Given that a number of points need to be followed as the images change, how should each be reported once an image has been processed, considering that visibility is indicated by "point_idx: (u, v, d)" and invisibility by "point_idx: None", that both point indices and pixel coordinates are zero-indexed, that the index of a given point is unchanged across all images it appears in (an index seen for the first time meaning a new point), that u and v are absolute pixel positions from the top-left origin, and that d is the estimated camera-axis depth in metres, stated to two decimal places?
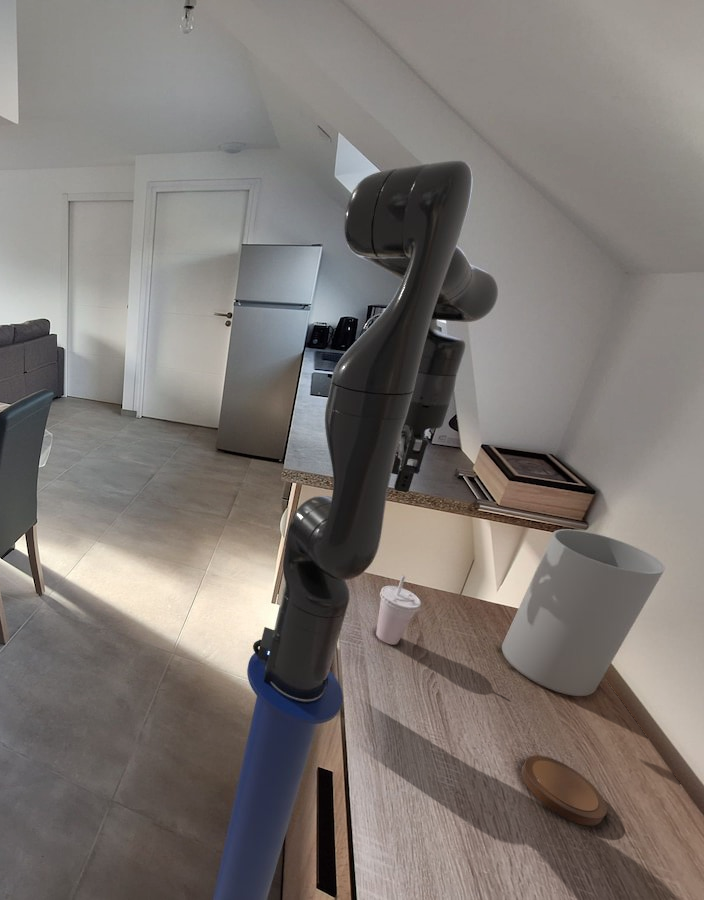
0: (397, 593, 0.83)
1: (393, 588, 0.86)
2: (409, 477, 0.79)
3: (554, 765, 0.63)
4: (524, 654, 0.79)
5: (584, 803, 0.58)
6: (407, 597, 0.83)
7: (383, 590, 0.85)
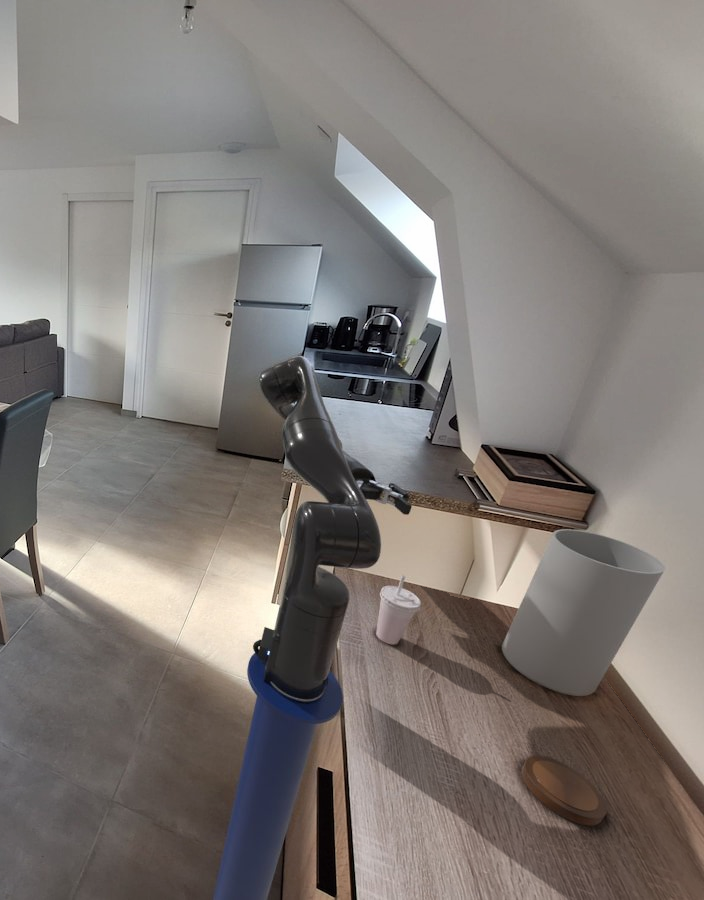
0: (397, 593, 0.83)
1: (393, 588, 0.86)
2: None
3: (554, 765, 0.63)
4: (524, 654, 0.79)
5: (584, 803, 0.58)
6: (407, 597, 0.83)
7: (383, 590, 0.85)
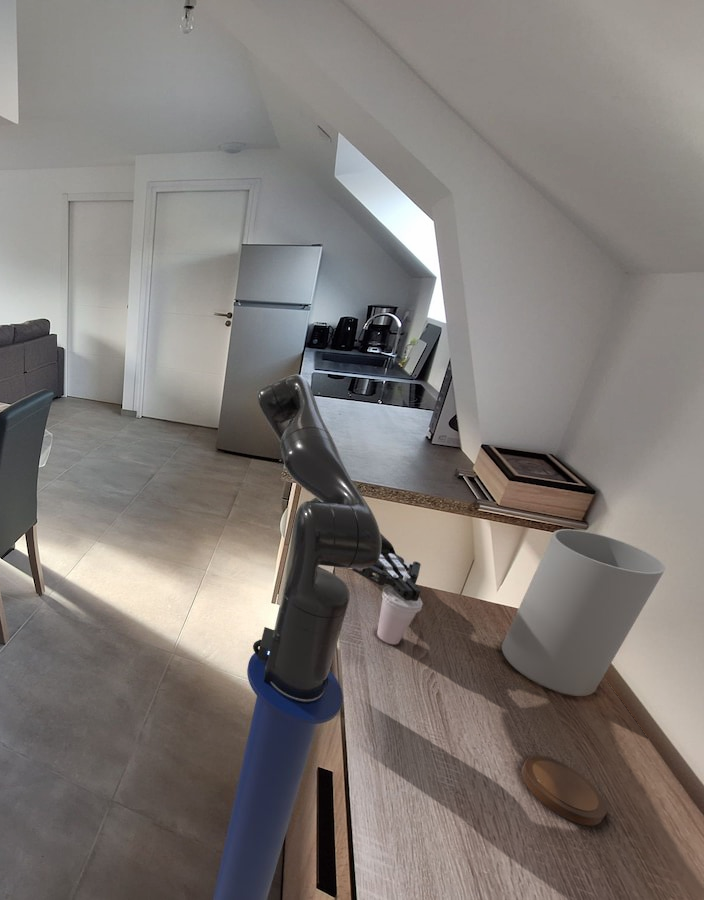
0: None
1: None
2: (394, 582, 0.82)
3: (554, 765, 0.63)
4: (524, 654, 0.79)
5: (584, 803, 0.58)
6: None
7: (385, 590, 0.85)
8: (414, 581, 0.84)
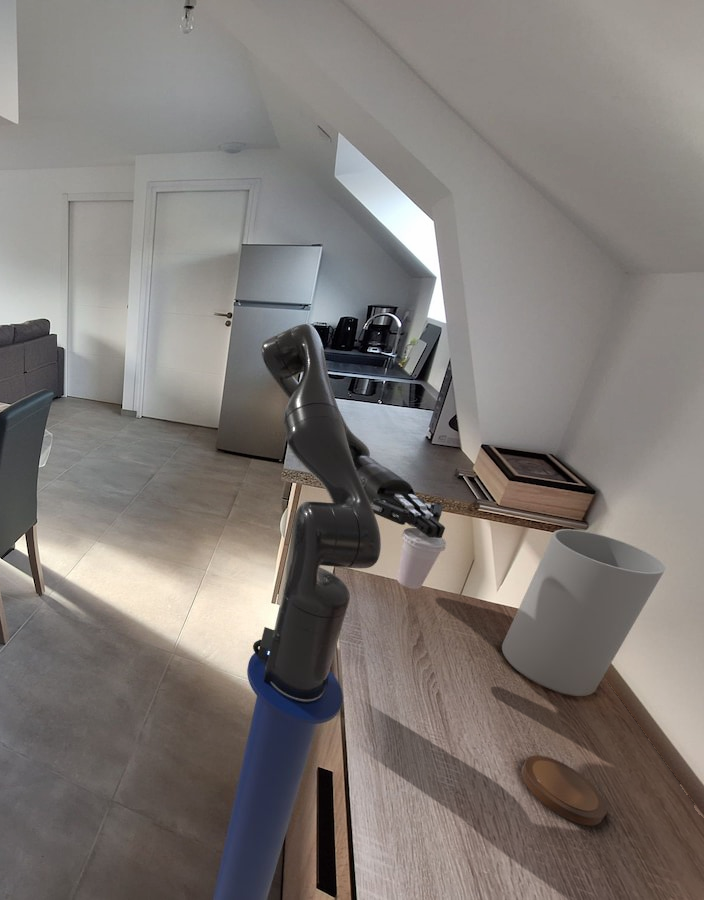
0: (421, 533, 0.79)
1: (416, 530, 0.81)
2: (417, 520, 0.78)
3: (554, 765, 0.63)
4: (524, 654, 0.79)
5: (584, 803, 0.58)
6: (431, 537, 0.78)
7: (405, 531, 0.80)
8: (437, 519, 0.79)
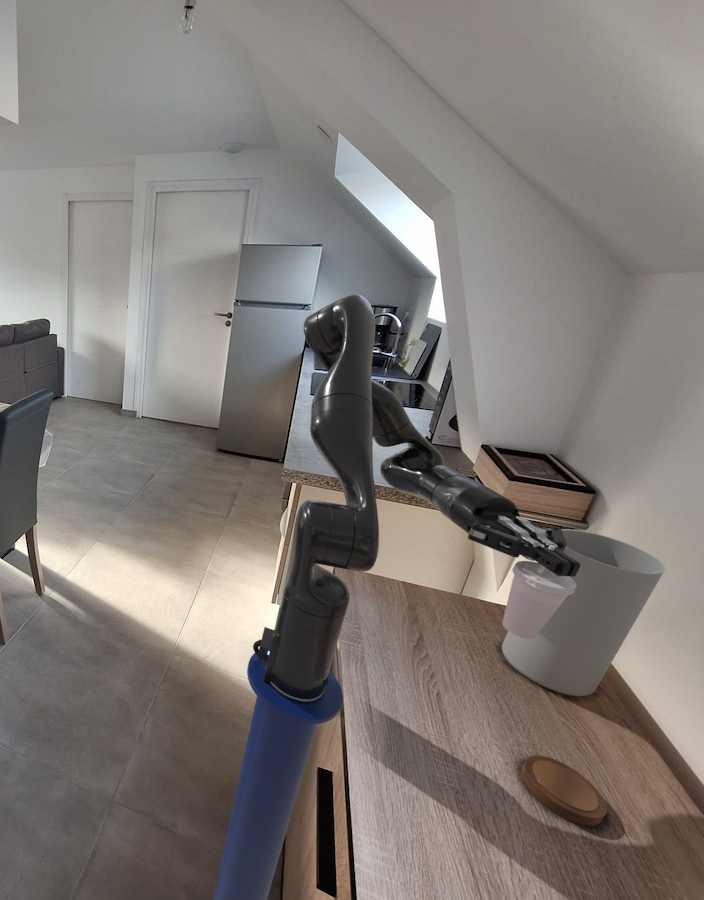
0: (540, 570, 0.62)
1: (530, 564, 0.64)
2: (538, 553, 0.61)
3: (554, 765, 0.63)
4: (524, 654, 0.79)
5: (584, 803, 0.58)
6: (555, 575, 0.61)
7: (518, 566, 0.63)
8: (561, 551, 0.62)
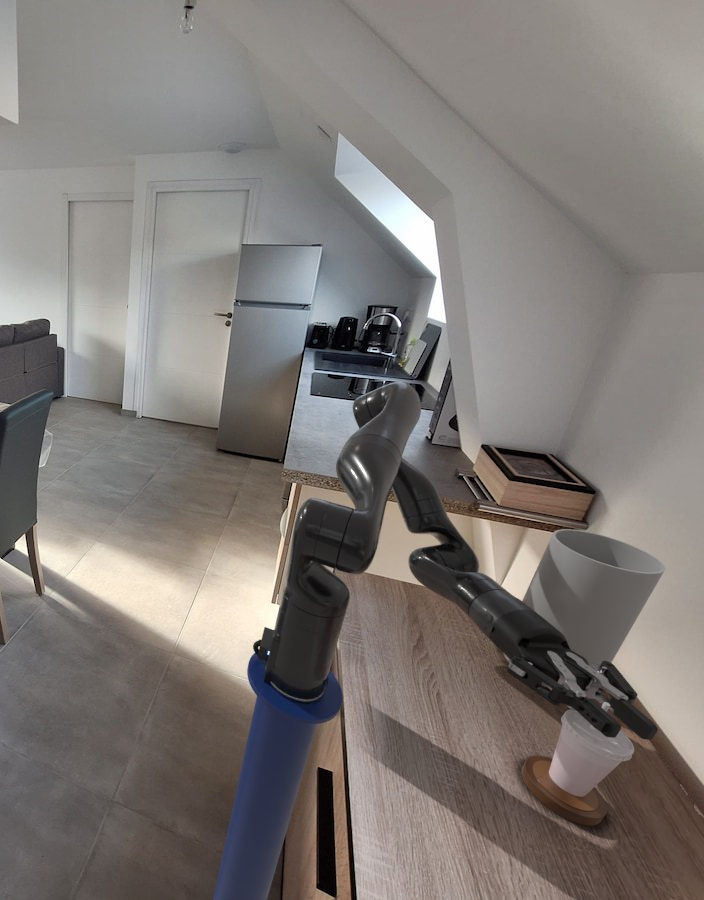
0: None
1: (580, 714, 0.59)
2: (582, 705, 0.56)
3: None
4: None
5: (584, 803, 0.58)
6: None
7: (568, 718, 0.59)
8: None
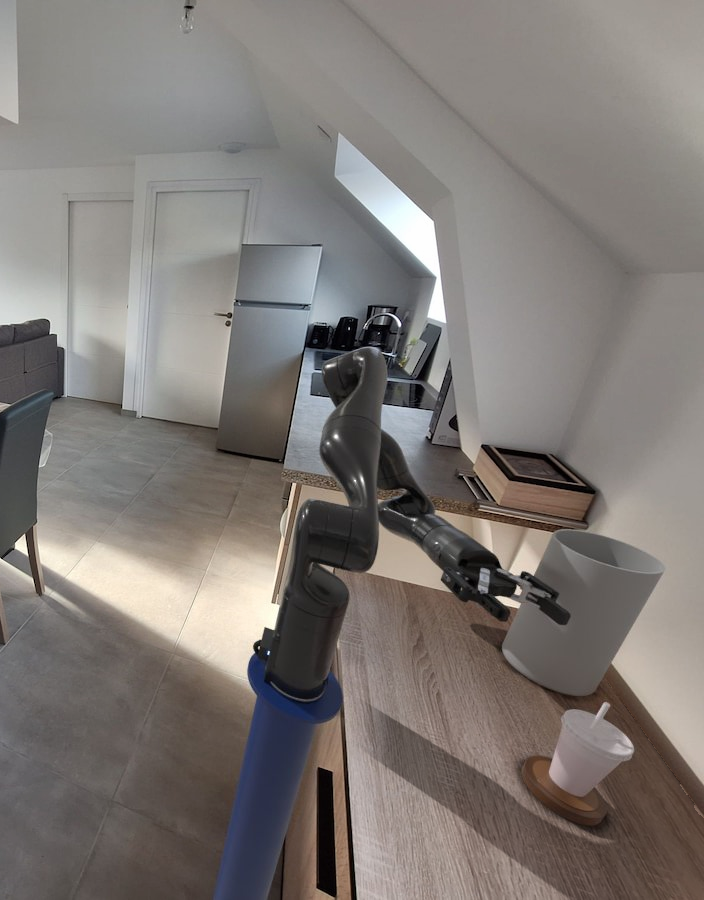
0: (593, 727, 0.57)
1: (580, 714, 0.59)
2: (484, 599, 0.68)
3: None
4: (524, 654, 0.79)
5: (584, 803, 0.58)
6: (609, 734, 0.57)
7: (568, 718, 0.59)
8: None
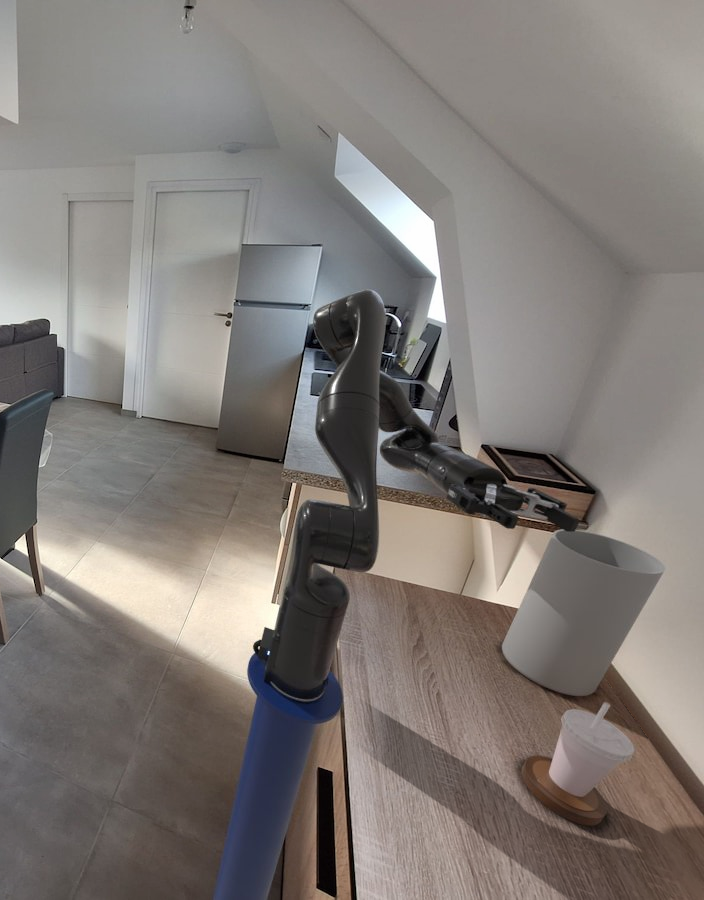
0: (593, 727, 0.57)
1: (580, 714, 0.59)
2: (491, 509, 0.67)
3: None
4: (524, 654, 0.79)
5: (584, 803, 0.58)
6: (609, 734, 0.57)
7: (568, 718, 0.59)
8: None
